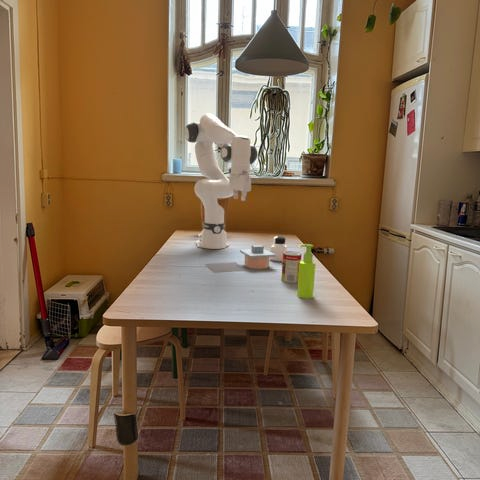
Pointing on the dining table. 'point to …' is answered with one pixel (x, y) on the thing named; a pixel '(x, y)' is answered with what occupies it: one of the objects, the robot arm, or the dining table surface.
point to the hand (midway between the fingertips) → (239, 199)
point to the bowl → (257, 262)
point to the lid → (257, 252)
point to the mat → (225, 267)
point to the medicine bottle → (278, 248)
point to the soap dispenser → (306, 274)
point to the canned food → (291, 266)
